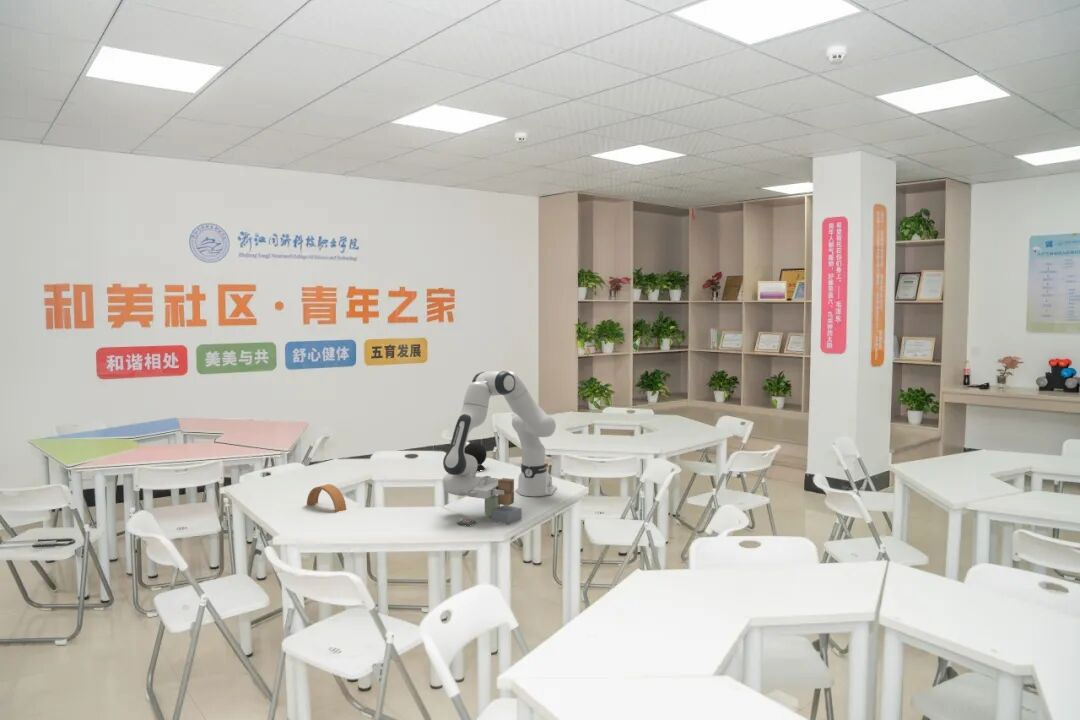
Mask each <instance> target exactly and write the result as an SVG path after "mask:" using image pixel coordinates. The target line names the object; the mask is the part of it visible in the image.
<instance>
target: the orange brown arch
mask: <svg viewBox="0 0 1080 720" xmlns="http://www.w3.org/2000/svg"><path fill="white" fill-rule="evenodd" d="M339 489H340V488H338V487H336V486H335V485H333V484H325V485H320V486H317V487H316V486H315V487H313V488H312V489H311V490H310V492H309V494H308V495H307V499H306V506H308V505H309V506H312V504H313V505H316V504H315V503H317V504H319V498H320V497H319V496H320V494H321V492H322V491H324V492H326V493H327V495H329V498H330V499H331V501H332V502H333V507H334V513H340V512H342V511H345V510H347V506H346V505H347V504H346V501H345V497H344V495H343V493H342V492H341V491H340V490H339ZM339 511H340V512H339Z"/></svg>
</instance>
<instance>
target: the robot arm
mask: <svg viewBox="0 0 1080 720" xmlns="http://www.w3.org/2000/svg"><path fill="white" fill-rule="evenodd" d="M501 395H502V396H503V397H504V400H505V401H506V402H507V404H508V405H509V408H510V409H511V411H512V413H514V415H513V416H512V420H511V426H512V427H513V428H512V429H513V430H514V431H515V432H516V433H517V436H518V438H519V442H520V443H519V444H520V447H521V465H520V471H521V473H519V475H518V478H517V479H518V480H517V488H515V492H516V493H518V494H519V495H521V496H525V497H544V496H552V495H553V494H554V493H555V491H556V490H557V489H558V486H557V485H554V484H553V477H552V475H551V474H550V473H549V472H548V471H547V470H548V467H549V463H548V462H546V447H545V446H544V445H543V443H542V442H541V439H540V438H548V437H551V436H552V435H554V434H555V431H556V427H557V426H556V421H555V419H554V418H553V417H552V416H550V415H549V414H548V413H546V412H545V410H543V409H542V408H541V407H540V405H539V404H538V403H537V402H536V401H535V400H534V398H533V397H532V395H531V393H530V391H529V390H528V389H527V386H526V385H525V383H524V381H523V380H522V379H521V378H520V376H519V375H518V374H517V373H516V372H514V371H512V370H511V371H510V370H509V371H506V370H502V371H499V370H491V371H481V372H479V373H476V374H475V375H474V377H473V378H472V382H471V383H470V384H469V385H468V387H467V389H466V392H465V396H464V399H463V403H462V407H461V413H460V415H459V417H458V419H457V421H456V424H455V427H454V431H453V434H452V437H451V441H450V445H449V448H448V449H447V452H446V453H445V455H444V457H443V460H442V461H443V462H442V465H443V469H444V471H445V472H446V473H447V474H446V475H445V476H444V477H443V479H442V480H443V481H442V485H443V489H444V490H445V492H446V493H448V494H450V495H454V496H460V497H465V496H467V497H470V498H476V499H477V498H478V499H483V500H485V499H488V498H490V497H492V496H494V495H504V494H505V490H498V480H500V479H501V478H497V477H492V476H490V475H484V476H476V475H477V468H478V462H477V460H476V458H475V457H474V456H472V455H469V454H465V453H464V449H465V447H466V446H467V441H468V438H469V434H470V432H471V431H472V430H473V429H475V428H477V427H479V426H481V425H483V423H484V422H485V420H486V419H487V418H486V417H487V414H488V410H489V402H490V398H491V396H493V397H494V396H501Z"/></svg>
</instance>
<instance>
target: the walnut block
mask: <svg viewBox="0 0 1080 720" xmlns="http://www.w3.org/2000/svg"><path fill="white" fill-rule="evenodd" d="M499 479H500V480H498V490H505V494H504V495H498V504H500V506H503V505H507V506H512V504H514V503H515V479H514V478H505V477H503V478H499Z"/></svg>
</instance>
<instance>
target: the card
mask: <svg viewBox="0 0 1080 720" xmlns="http://www.w3.org/2000/svg"><path fill="white" fill-rule="evenodd" d="M474 523H475V524H476V523H477V520H475V519H474V520H473V519H467V518H463V519H461V520H459V521H458V522H456V525H457V524H459V525H458V526H463V525H466V526H465V527H471V526H473V525H475V524H474ZM472 524H473V525H472ZM470 525H471V526H470Z"/></svg>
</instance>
